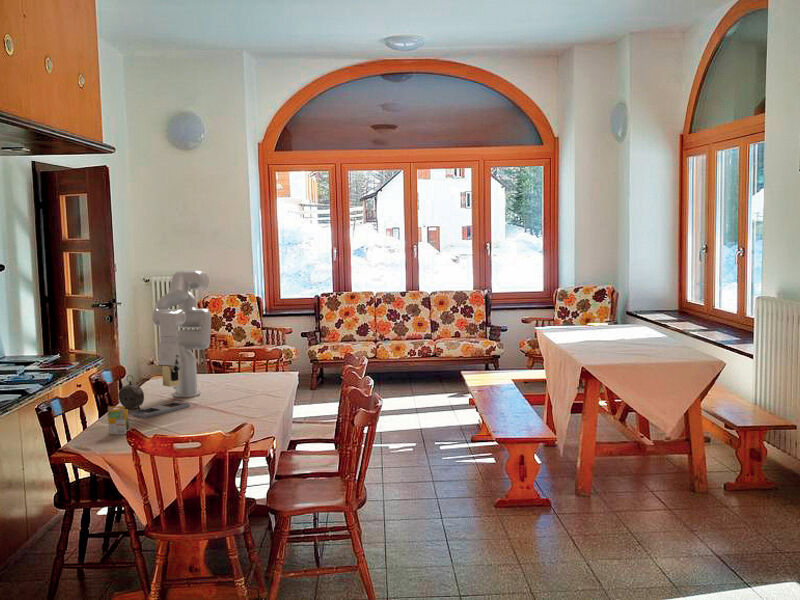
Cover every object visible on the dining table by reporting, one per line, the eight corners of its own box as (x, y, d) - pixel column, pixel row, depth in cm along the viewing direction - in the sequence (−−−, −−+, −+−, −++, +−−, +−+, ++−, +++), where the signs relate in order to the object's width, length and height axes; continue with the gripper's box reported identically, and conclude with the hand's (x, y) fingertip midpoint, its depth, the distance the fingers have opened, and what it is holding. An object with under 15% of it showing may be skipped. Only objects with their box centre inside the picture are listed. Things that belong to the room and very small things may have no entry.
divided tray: (132, 417, 370) (132, 411, 369) (176, 406, 389) (176, 400, 389) (145, 420, 364) (145, 414, 364) (189, 408, 383) (189, 403, 383)
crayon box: (129, 432, 345) (127, 404, 344) (126, 434, 342) (125, 406, 341) (111, 432, 346) (110, 404, 345) (108, 434, 343) (107, 406, 342)
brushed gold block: (163, 385, 379) (162, 365, 378) (172, 383, 383) (171, 363, 382) (170, 386, 376) (169, 366, 375) (179, 384, 380) (178, 364, 379)
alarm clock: (145, 410, 383) (143, 374, 381) (138, 413, 378) (136, 377, 376) (124, 408, 386) (122, 373, 384) (117, 411, 381) (115, 375, 379)
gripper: (150, 339, 380) (151, 379, 382) (174, 342, 370) (176, 383, 371) (163, 336, 386) (165, 376, 388) (188, 339, 376) (190, 380, 377)
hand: (171, 379), depth 380 cm, fingers closed on brushed gold block, 5 cm apart
